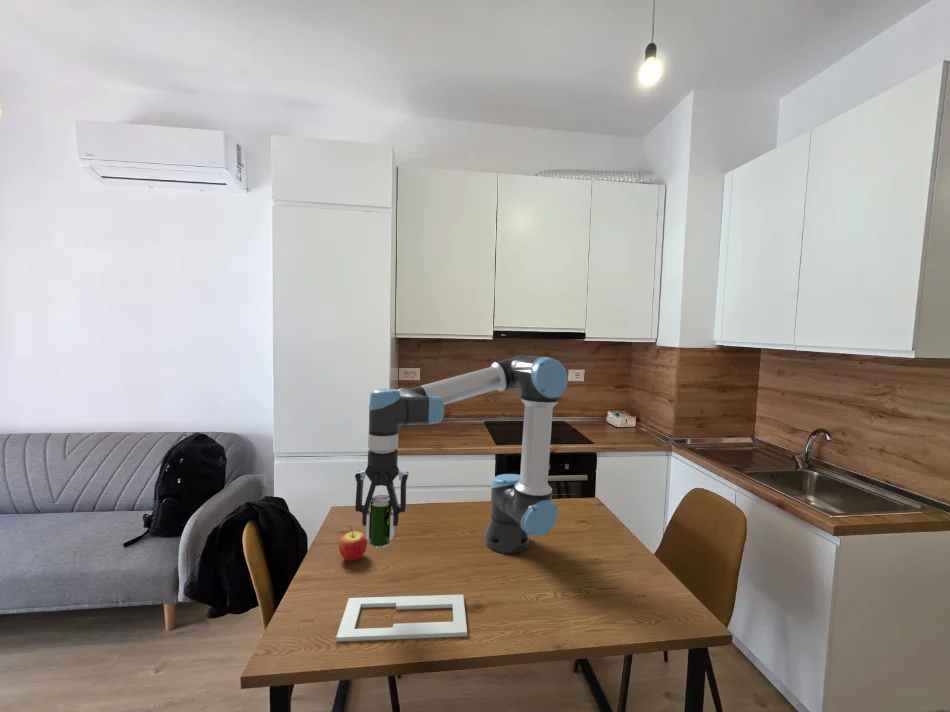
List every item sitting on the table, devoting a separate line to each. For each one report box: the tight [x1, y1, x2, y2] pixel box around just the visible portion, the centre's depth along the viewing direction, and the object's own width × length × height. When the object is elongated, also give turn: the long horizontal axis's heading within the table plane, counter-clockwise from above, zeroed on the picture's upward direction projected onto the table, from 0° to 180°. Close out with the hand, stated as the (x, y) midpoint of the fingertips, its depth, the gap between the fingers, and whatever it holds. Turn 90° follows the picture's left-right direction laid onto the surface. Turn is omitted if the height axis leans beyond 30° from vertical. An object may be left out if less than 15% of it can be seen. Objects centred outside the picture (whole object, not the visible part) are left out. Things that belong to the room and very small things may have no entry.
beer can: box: [368, 494, 393, 549], centre depth 107 cm, size 5×5×12 cm
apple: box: [338, 525, 368, 562], centre depth 128 cm, size 8×8×10 cm
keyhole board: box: [335, 594, 468, 642], centre depth 102 cm, size 30×14×1 cm, turn 96°
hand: (380, 537), depth 107 cm, fingers closed on beer can, 5 cm apart
